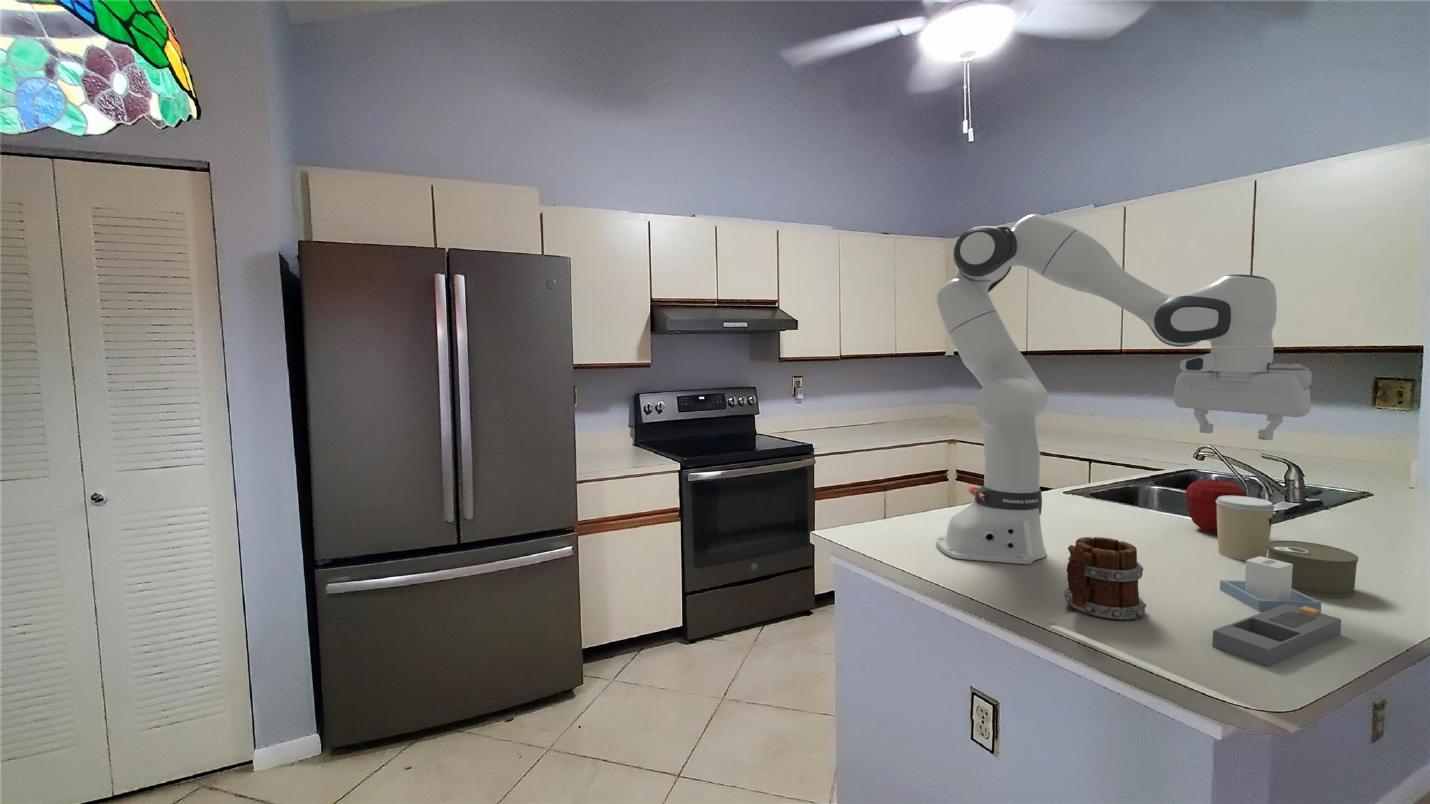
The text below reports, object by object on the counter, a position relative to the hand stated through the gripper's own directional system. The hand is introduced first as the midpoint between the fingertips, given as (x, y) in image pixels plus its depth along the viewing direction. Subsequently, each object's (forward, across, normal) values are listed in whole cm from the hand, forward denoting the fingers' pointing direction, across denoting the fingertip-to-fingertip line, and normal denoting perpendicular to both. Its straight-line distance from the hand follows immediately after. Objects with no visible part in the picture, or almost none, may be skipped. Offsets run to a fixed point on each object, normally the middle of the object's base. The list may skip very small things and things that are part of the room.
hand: (1234, 436), depth 114 cm
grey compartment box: (+28, -18, +22) cm, 40 cm away
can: (+28, -9, -10) cm, 31 cm away
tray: (+28, -10, +8) cm, 30 cm away
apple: (+28, +18, -33) cm, 47 cm away
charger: (+27, -10, +8) cm, 30 cm away
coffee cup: (+28, +6, -18) cm, 34 cm away
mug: (+28, 0, +36) cm, 46 cm away
